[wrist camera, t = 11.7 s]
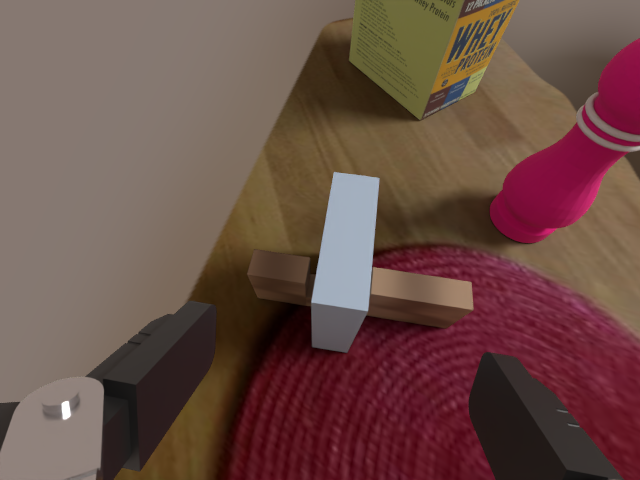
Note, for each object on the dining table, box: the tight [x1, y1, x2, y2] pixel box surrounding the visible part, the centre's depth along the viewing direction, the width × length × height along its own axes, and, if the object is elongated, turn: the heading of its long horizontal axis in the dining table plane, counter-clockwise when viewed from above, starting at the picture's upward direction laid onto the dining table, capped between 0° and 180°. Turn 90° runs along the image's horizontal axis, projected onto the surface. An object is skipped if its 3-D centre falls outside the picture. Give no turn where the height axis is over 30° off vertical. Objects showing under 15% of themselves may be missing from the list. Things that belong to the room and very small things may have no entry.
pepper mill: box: [490, 38, 640, 243], centre depth 26 cm, size 7×7×20 cm
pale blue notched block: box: [311, 172, 379, 353], centre depth 24 cm, size 9×3×12 cm, turn 171°
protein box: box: [349, 0, 519, 120], centre depth 39 cm, size 10×15×16 cm
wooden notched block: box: [247, 249, 473, 328], centre depth 27 cm, size 17×2×6 cm, turn 81°
